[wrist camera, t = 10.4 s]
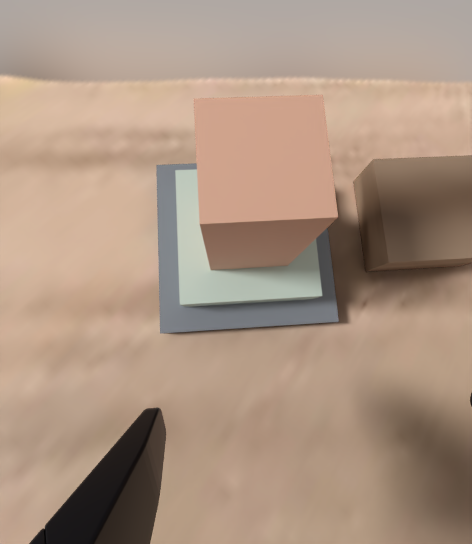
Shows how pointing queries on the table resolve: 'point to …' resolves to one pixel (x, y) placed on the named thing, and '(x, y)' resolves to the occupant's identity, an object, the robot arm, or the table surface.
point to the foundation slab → (233, 282)
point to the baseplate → (228, 314)
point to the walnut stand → (415, 212)
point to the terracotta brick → (262, 178)
